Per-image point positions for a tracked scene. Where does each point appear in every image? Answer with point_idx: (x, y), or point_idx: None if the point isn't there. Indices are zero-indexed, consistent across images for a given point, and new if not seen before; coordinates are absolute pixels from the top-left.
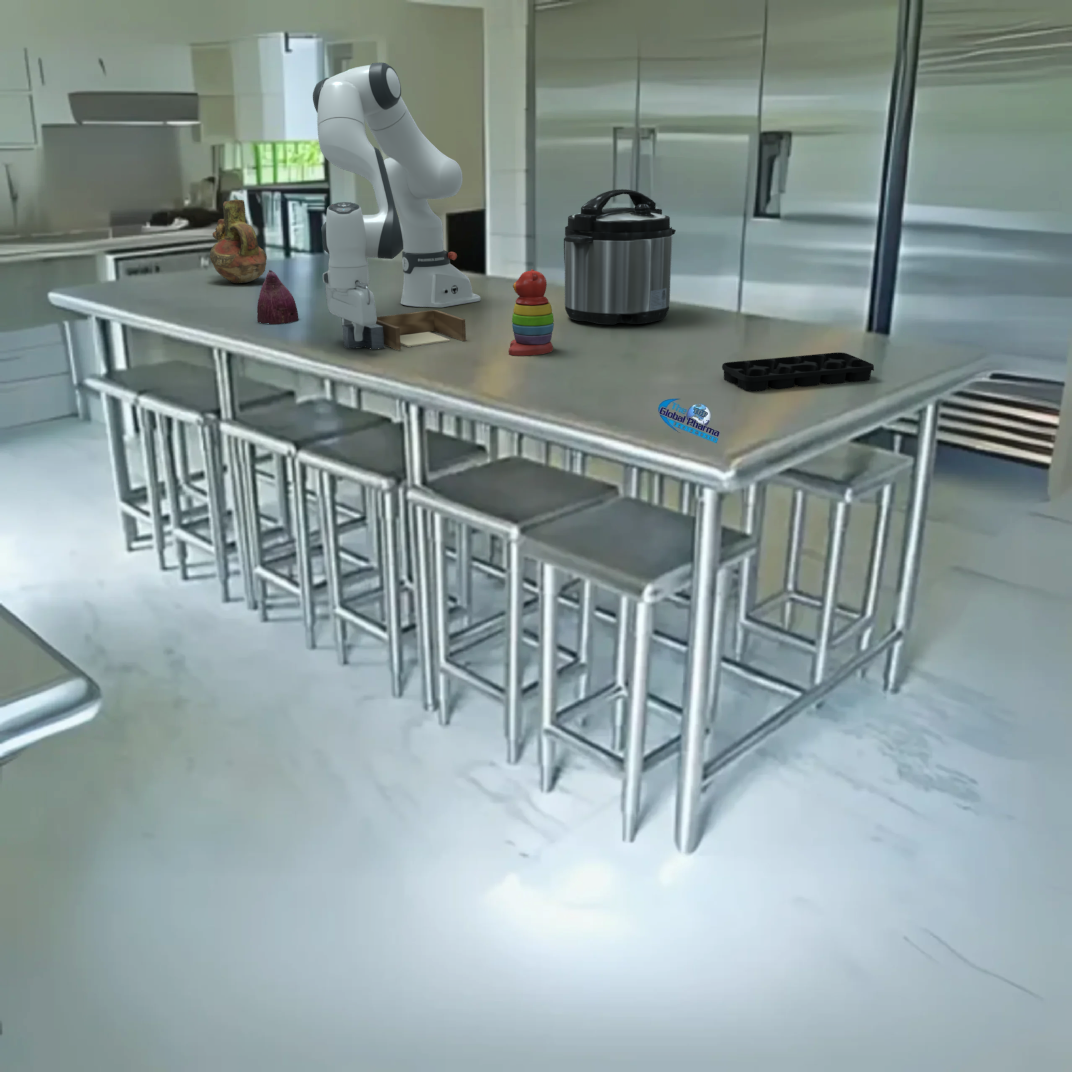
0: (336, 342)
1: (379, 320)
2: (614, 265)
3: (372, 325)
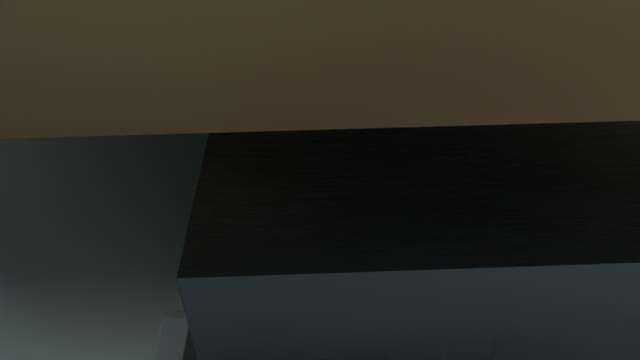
0: (24, 311)
1: (96, 10)
2: None
3: (622, 355)
